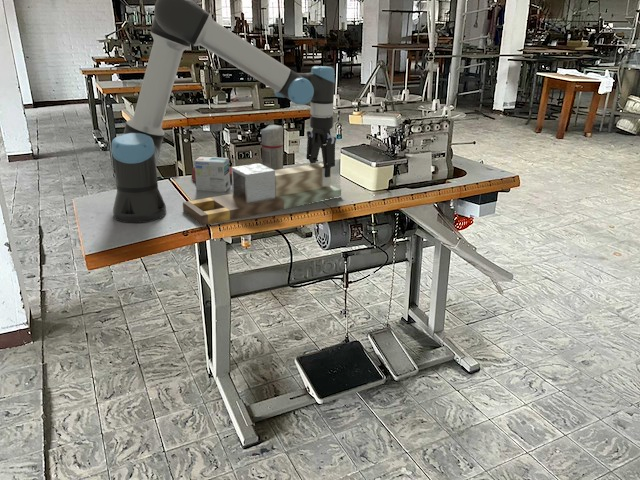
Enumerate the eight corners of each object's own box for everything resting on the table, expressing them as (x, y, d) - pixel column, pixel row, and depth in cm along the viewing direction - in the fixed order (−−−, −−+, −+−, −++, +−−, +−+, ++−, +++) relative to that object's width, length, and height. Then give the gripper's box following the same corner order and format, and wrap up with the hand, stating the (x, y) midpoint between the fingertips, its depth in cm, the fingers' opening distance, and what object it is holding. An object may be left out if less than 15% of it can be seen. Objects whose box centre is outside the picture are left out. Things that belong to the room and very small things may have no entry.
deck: (201, 225, 151) (201, 215, 150) (183, 211, 161) (182, 202, 160) (340, 197, 179) (341, 189, 178) (317, 187, 189) (317, 179, 188)
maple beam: (275, 196, 168) (275, 175, 165) (266, 191, 172) (266, 171, 169) (330, 186, 180) (331, 167, 177) (320, 182, 184) (321, 163, 181)
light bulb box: (230, 186, 186) (229, 157, 182) (225, 192, 180) (224, 162, 176) (201, 185, 187) (199, 155, 183) (195, 190, 181) (193, 160, 177)
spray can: (282, 181, 194) (283, 128, 186) (260, 181, 194) (260, 127, 187) (284, 175, 202) (284, 123, 194) (263, 174, 202) (263, 123, 194)
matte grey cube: (247, 204, 160) (246, 174, 156) (232, 195, 167) (231, 167, 164) (275, 199, 165) (275, 170, 162) (259, 191, 173) (259, 163, 169)
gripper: (348, 119, 166) (345, 188, 175) (314, 110, 180) (312, 175, 189) (329, 121, 162) (327, 192, 171) (296, 112, 176) (295, 178, 185)
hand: (319, 183), depth 180 cm, fingers closed on maple beam, 6 cm apart
